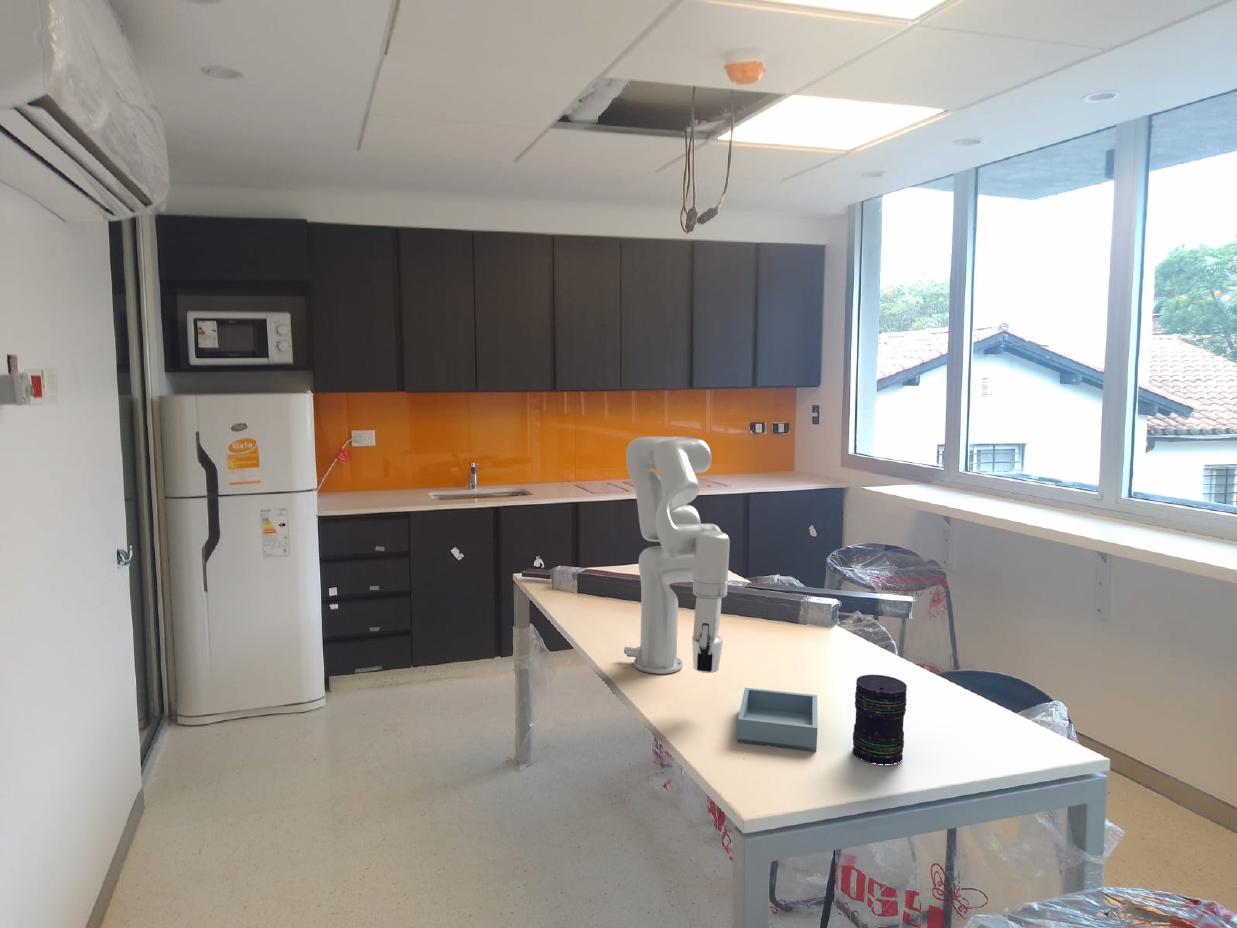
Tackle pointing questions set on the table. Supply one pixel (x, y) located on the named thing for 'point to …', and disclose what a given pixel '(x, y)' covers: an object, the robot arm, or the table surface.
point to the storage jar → (879, 719)
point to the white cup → (715, 651)
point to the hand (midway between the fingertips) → (706, 664)
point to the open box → (778, 719)
